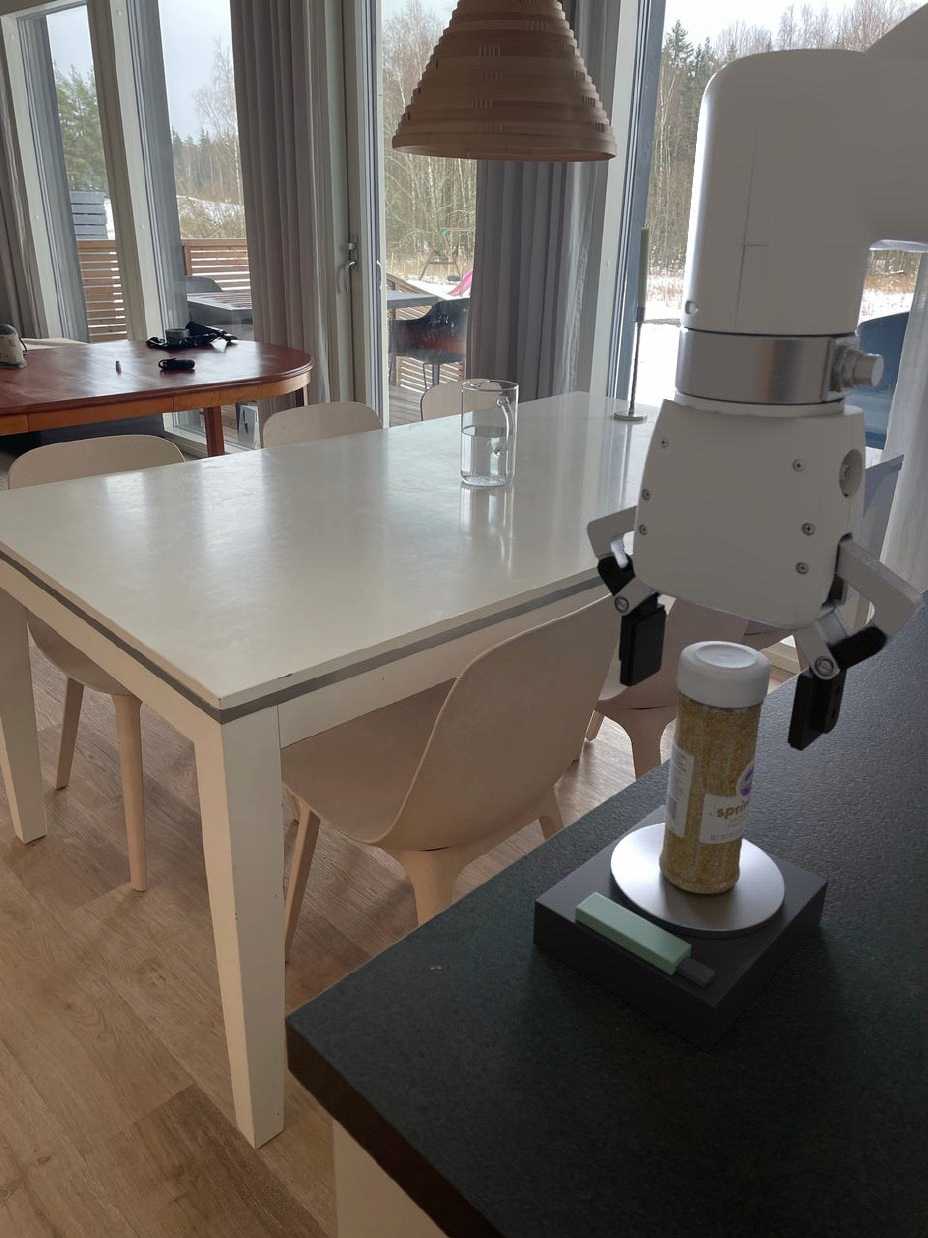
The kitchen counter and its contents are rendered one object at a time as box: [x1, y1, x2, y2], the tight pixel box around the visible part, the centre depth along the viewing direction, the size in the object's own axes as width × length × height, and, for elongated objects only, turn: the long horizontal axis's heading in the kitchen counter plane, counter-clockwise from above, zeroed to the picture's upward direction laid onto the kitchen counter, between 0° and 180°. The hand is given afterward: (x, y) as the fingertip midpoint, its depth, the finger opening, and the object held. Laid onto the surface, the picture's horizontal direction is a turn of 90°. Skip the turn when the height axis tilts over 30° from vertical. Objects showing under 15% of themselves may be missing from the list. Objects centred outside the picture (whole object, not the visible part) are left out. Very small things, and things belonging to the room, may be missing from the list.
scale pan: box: [610, 823, 785, 939], centre depth 53 cm, size 10×10×1 cm
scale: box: [532, 804, 829, 1053], centre depth 52 cm, size 13×11×4 cm
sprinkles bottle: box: [659, 640, 772, 894], centre depth 50 cm, size 5×5×13 cm
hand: (718, 706), depth 49 cm, fingers open, 9 cm apart
